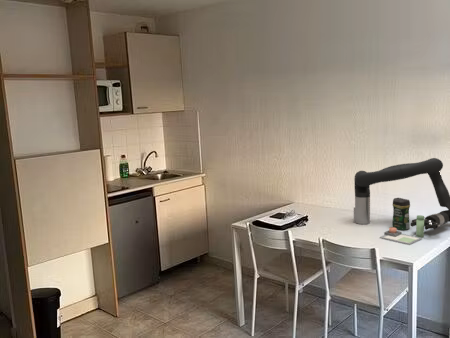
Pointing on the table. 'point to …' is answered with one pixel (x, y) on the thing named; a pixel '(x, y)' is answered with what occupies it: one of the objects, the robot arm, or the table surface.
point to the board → (400, 238)
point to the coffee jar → (401, 214)
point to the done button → (392, 230)
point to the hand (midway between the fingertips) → (418, 226)
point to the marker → (420, 226)
